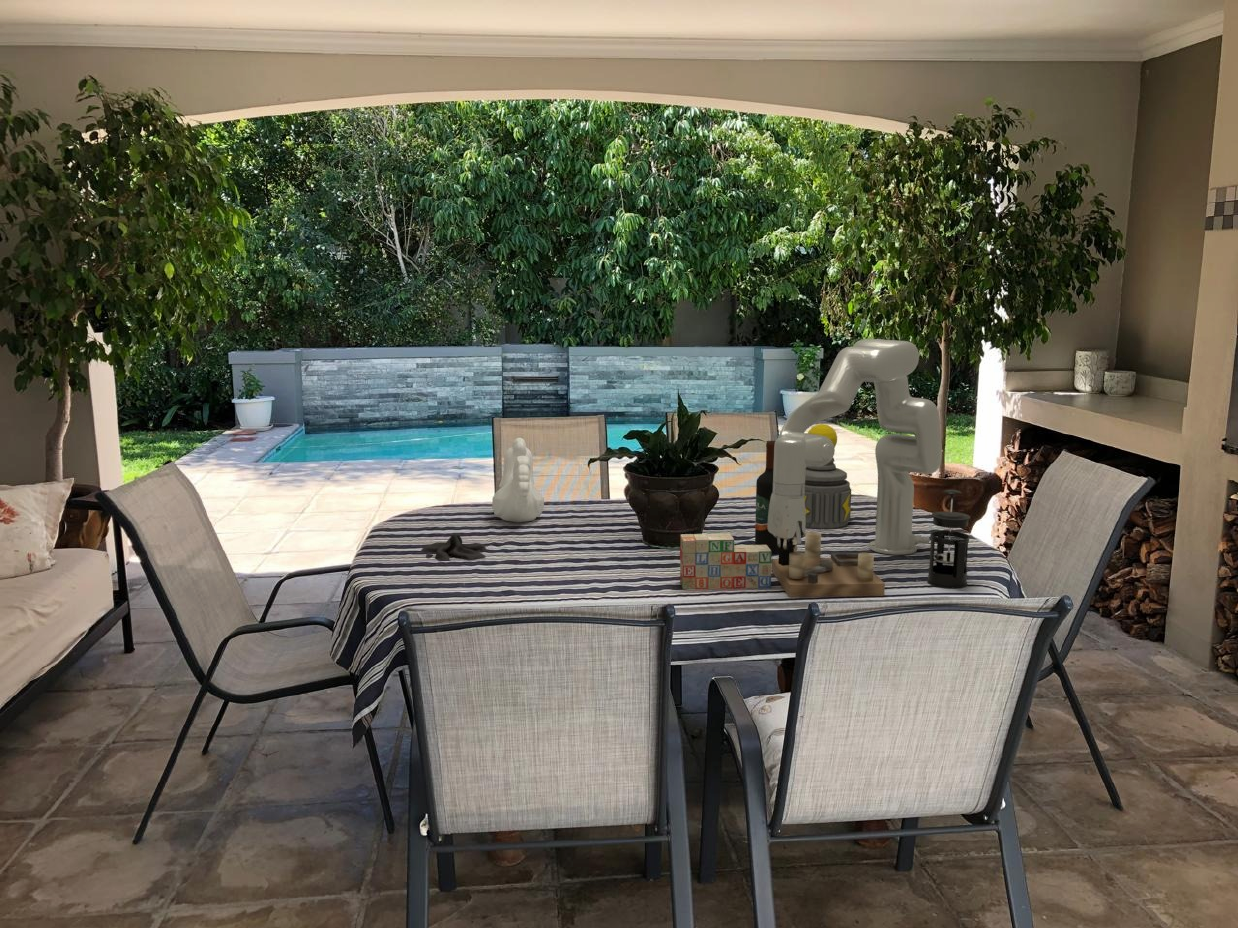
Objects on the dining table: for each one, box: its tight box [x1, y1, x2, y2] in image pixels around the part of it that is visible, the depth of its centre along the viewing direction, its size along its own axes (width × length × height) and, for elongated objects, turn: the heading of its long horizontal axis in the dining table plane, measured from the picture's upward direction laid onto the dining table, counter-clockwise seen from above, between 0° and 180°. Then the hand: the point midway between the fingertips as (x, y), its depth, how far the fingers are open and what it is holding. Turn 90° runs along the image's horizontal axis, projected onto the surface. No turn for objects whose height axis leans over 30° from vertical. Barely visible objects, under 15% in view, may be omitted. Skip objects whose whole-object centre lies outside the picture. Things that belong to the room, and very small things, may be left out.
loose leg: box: [804, 531, 822, 558], centre depth 274 cm, size 4×4×8 cm
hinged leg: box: [789, 551, 833, 579], centre depth 253 cm, size 14×4×6 cm, turn 128°
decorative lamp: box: [804, 423, 852, 530], centre depth 317 cm, size 19×19×30 cm
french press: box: [926, 489, 971, 590], centre depth 255 cm, size 12×9×23 cm
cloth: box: [420, 532, 487, 562], centre depth 283 cm, size 22×19×6 cm
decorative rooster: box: [491, 437, 545, 523], centre depth 317 cm, size 25×16×25 cm, turn 179°
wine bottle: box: [754, 440, 779, 555], centre depth 284 cm, size 8×8×30 cm
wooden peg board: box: [771, 545, 886, 598], centre depth 257 cm, size 22×22×9 cm
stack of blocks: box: [679, 532, 772, 590], centre depth 255 cm, size 21×6×12 cm, turn 92°
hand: (785, 564), depth 254 cm, fingers closed
